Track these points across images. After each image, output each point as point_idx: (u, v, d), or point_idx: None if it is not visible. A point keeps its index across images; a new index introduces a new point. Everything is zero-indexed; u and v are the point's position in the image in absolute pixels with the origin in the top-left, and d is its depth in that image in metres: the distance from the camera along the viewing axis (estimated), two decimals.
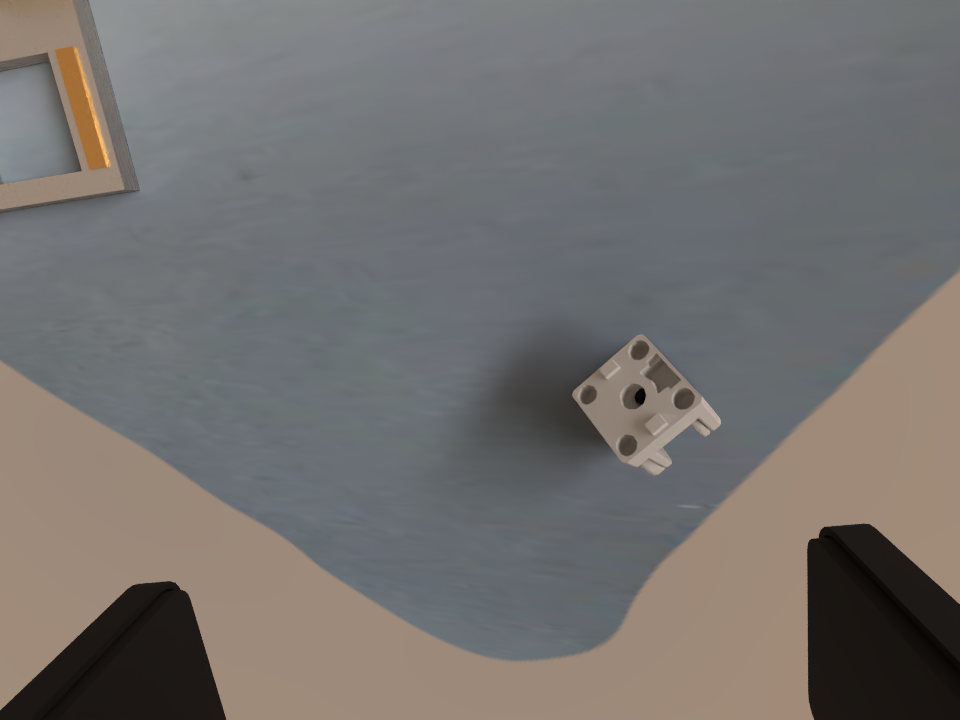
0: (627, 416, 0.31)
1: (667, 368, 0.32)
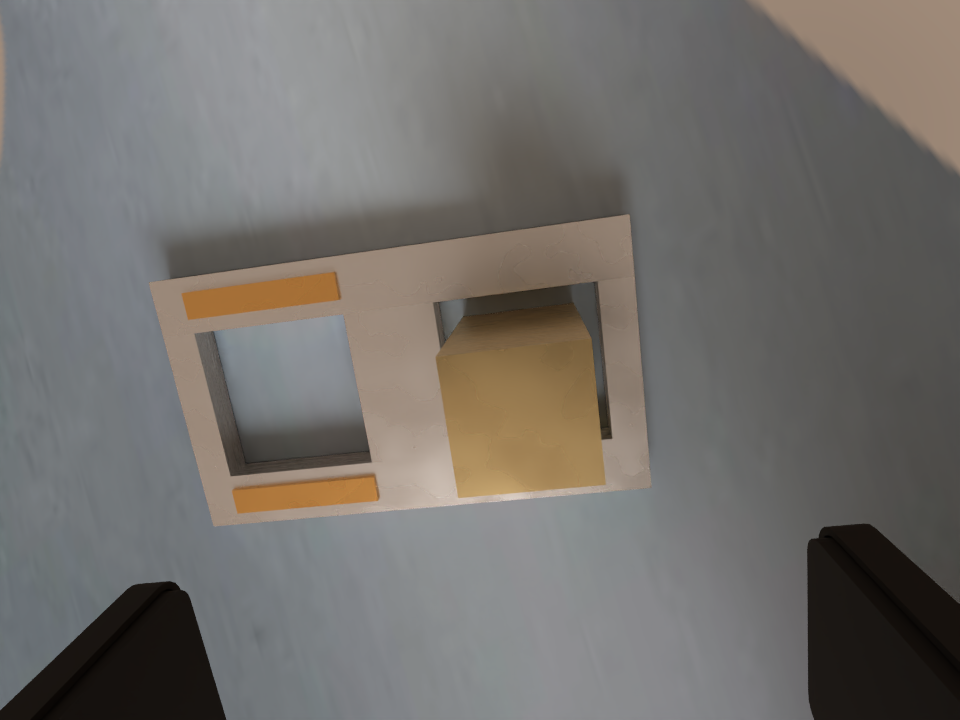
0: None
1: None
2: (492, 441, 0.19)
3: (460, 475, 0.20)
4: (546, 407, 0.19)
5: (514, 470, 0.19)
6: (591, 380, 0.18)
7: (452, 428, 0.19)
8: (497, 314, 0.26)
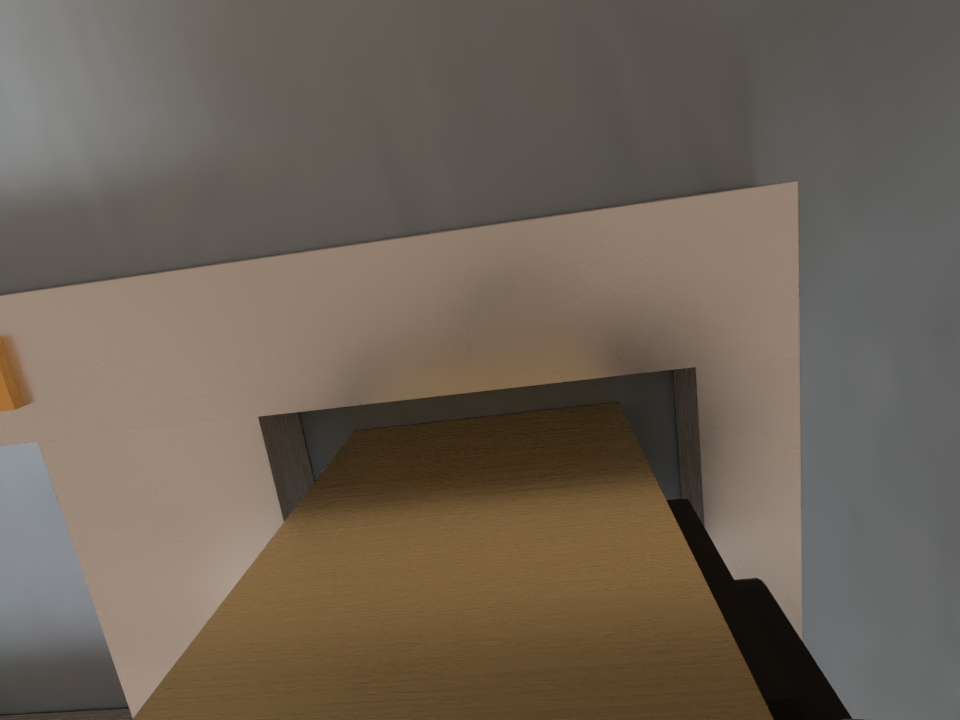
0: None
1: None
2: None
3: None
4: None
5: None
6: None
7: None
8: (431, 434, 0.10)
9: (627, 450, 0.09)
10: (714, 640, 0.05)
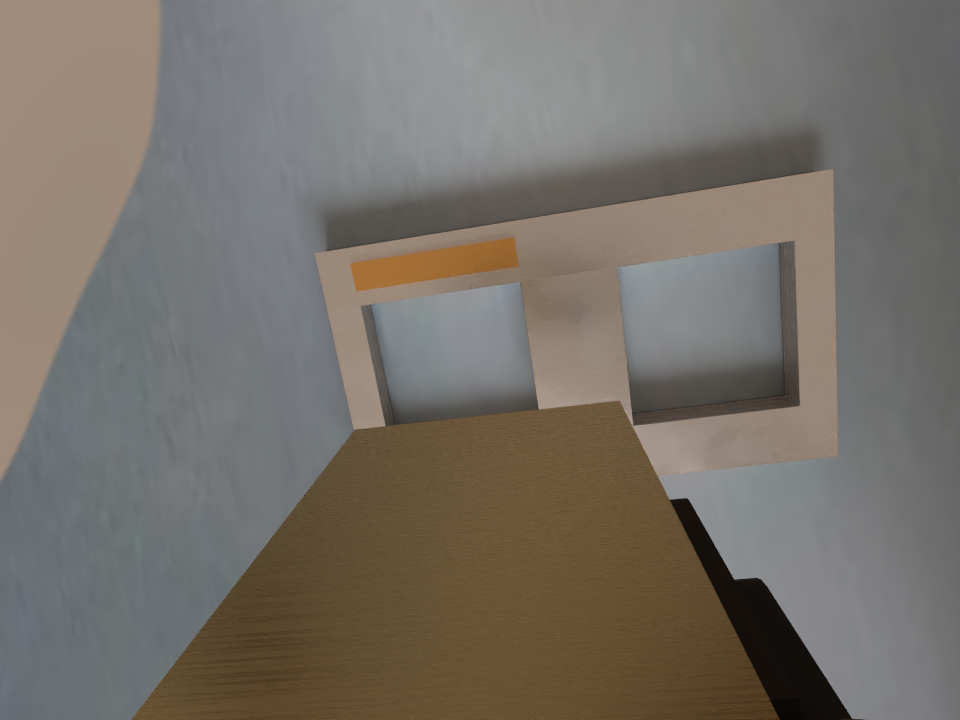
0: None
1: None
2: None
3: None
4: None
5: None
6: None
7: None
8: (432, 432, 0.10)
9: (629, 448, 0.09)
10: (717, 637, 0.05)
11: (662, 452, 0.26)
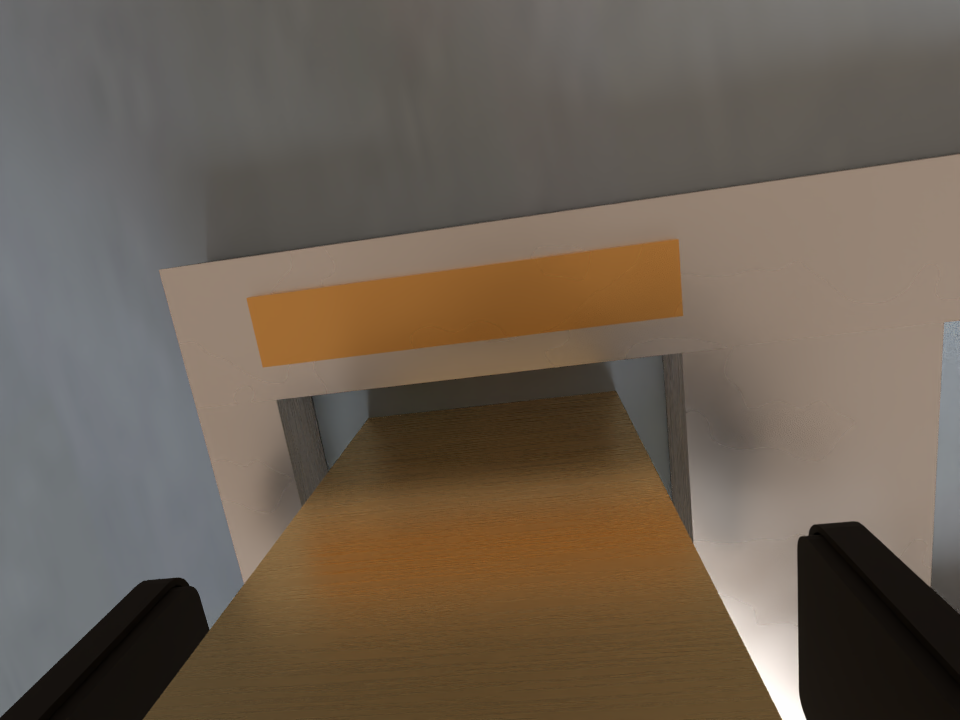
0: None
1: None
2: None
3: None
4: None
5: None
6: None
7: None
8: (441, 420, 0.11)
9: (623, 432, 0.09)
10: (695, 583, 0.06)
11: None
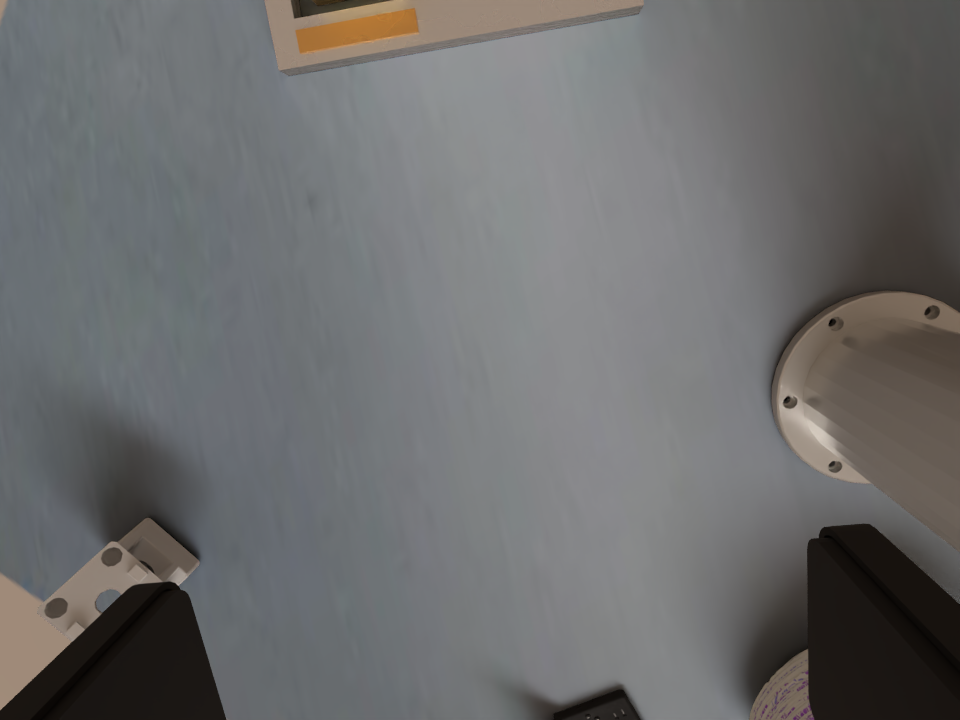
0: (87, 601, 0.36)
1: None
2: None
3: None
4: None
5: None
6: None
7: None
8: None
9: None
10: None
11: (507, 7, 0.32)
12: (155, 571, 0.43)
